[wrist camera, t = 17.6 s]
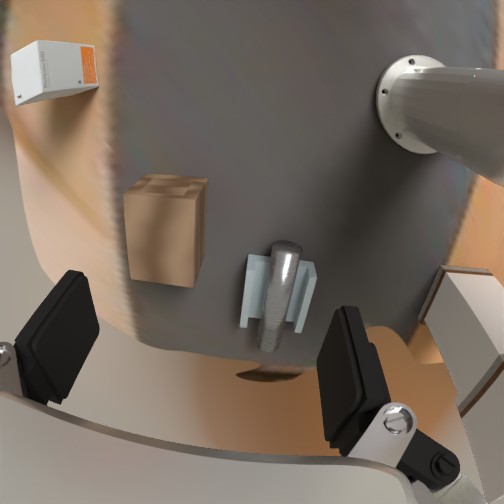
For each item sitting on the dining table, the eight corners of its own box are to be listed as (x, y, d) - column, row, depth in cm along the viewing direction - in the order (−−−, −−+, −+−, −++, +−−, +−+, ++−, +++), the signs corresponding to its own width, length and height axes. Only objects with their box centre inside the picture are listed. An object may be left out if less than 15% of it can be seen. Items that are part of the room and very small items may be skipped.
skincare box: (100, 86, 31) (42, 95, 21) (74, 95, 32) (14, 108, 21) (95, 43, 28) (37, 38, 18) (69, 54, 29) (8, 55, 18)
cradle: (313, 261, 43) (317, 277, 39) (299, 315, 48) (301, 333, 45) (248, 254, 43) (246, 269, 39) (241, 309, 48) (239, 326, 44)
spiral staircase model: (417, 316, 47) (486, 505, 17) (440, 264, 42) (548, 464, 12) (464, 316, 47) (538, 476, 17) (488, 269, 42) (591, 432, 12)
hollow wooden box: (208, 178, 37) (195, 200, 31) (204, 255, 43) (193, 288, 36) (146, 173, 37) (123, 194, 31) (149, 248, 43) (130, 278, 36)
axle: (273, 238, 40) (271, 252, 37) (301, 243, 39) (302, 257, 36) (257, 333, 48) (254, 350, 45) (279, 337, 48) (278, 354, 45)
